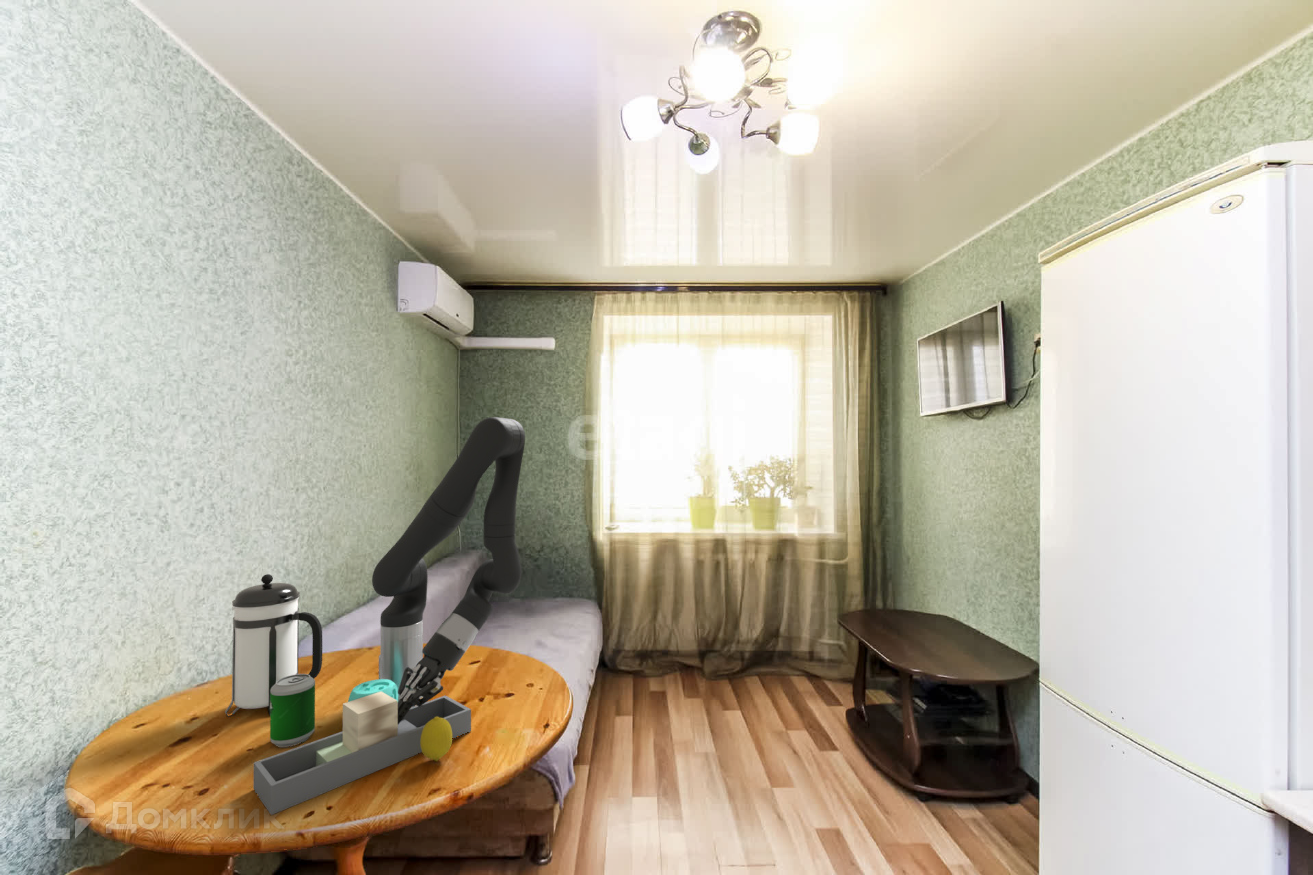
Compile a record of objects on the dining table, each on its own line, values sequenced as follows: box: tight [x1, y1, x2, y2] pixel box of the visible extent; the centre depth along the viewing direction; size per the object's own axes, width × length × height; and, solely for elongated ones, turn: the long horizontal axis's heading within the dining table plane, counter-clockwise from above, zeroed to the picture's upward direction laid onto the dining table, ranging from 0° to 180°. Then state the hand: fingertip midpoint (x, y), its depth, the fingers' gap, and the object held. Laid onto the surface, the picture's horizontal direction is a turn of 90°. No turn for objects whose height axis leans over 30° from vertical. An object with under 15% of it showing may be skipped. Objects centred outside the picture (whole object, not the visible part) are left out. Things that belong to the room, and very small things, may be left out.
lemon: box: [420, 716, 453, 762], centre depth 103 cm, size 6×6×8 cm
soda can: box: [269, 673, 316, 748], centre depth 112 cm, size 8×8×12 cm
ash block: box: [342, 692, 398, 753], centre depth 104 cm, size 7×7×8 cm
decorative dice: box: [347, 678, 398, 702], centre depth 118 cm, size 8×8×8 cm
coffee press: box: [224, 573, 323, 717], centre depth 128 cm, size 17×16×30 cm
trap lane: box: [252, 695, 472, 816], centre depth 104 cm, size 35×11×4 cm, turn 138°
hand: (392, 721), depth 107 cm, fingers closed
